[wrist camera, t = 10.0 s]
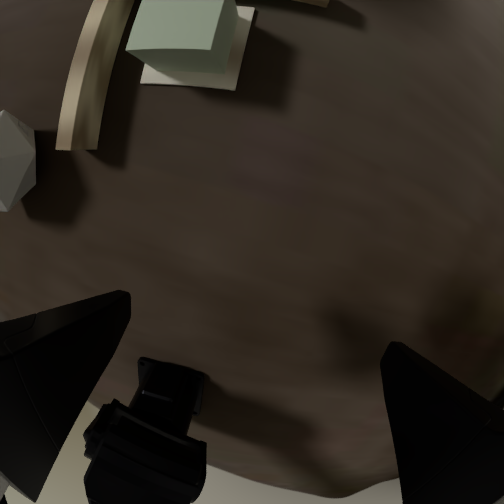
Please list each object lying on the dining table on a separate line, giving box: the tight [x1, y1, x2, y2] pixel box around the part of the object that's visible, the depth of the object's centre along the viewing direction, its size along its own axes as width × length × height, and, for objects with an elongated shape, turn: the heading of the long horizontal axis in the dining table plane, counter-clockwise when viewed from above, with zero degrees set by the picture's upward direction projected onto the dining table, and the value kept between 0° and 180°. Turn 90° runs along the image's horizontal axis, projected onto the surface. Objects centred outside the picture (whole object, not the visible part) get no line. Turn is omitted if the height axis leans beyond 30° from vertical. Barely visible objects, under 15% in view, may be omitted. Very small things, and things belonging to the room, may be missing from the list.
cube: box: [126, 0, 239, 75], centre depth 13 cm, size 5×5×5 cm
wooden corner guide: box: [56, 0, 329, 150], centre depth 15 cm, size 15×16×4 cm
